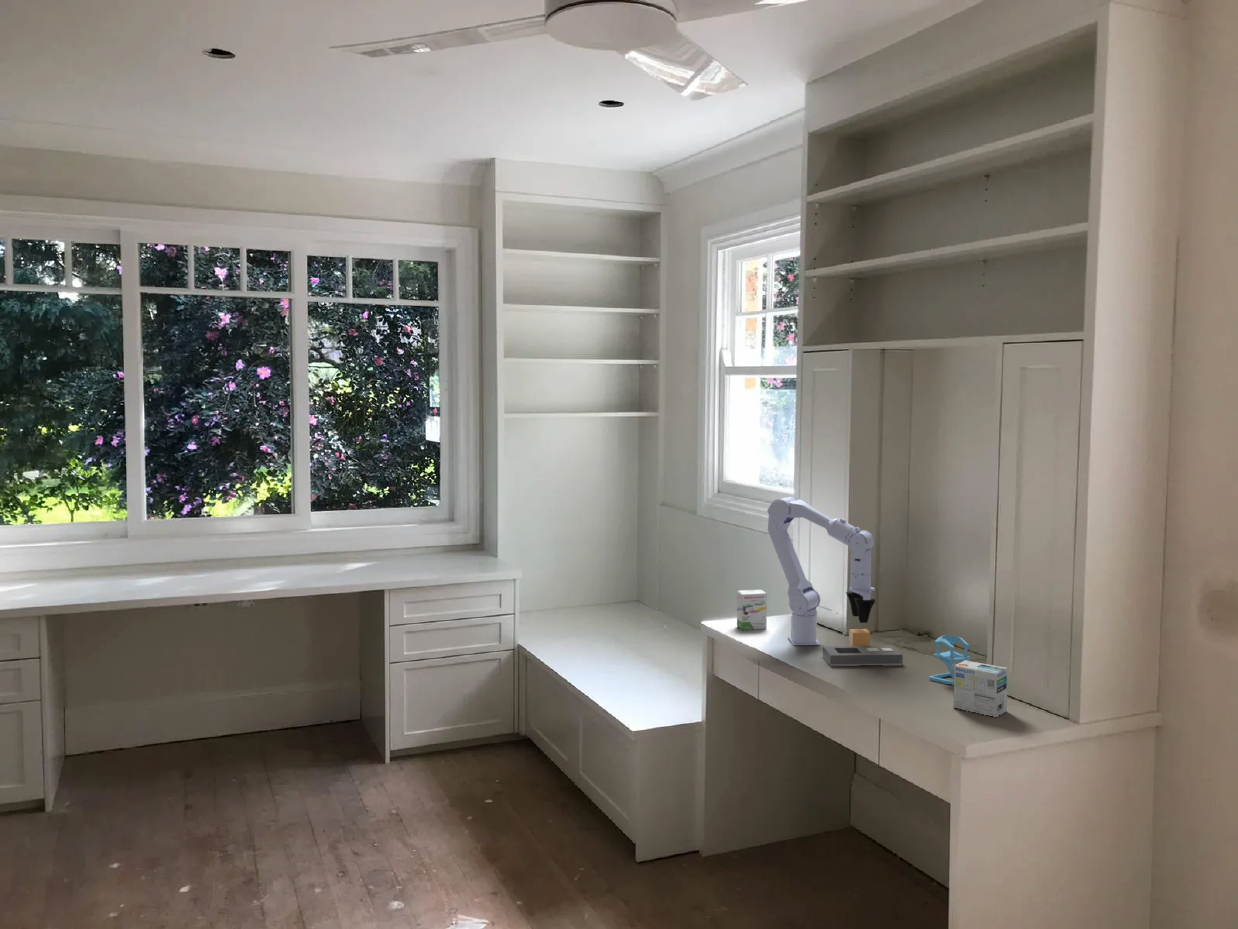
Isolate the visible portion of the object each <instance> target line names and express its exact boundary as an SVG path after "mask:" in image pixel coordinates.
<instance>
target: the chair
mask: <svg viewBox="0 0 1238 929" xmlns="http://www.w3.org/2000/svg"><path fill="white" fill-rule="evenodd" d="M934 641H935V646H936V653H935V652H934V653H933V654H932V656H933V658H935V659H938V660H939V661H941V662H943V663H944V664H945V666H946V667H947V669H948V671H949V672H946V673H940V674H934V675H929V676H928V680H929V681H932V682H937V683H940V684H944V685H948V684H952V685H951V686H953V685H954V666H953V664H956V663H958V662H959V663H961V662H963V661H965V660H967V661H971V656H968V653H967V652H968V649H969V646H970V644H969V643H967V642H966V640H964V638H962V637H959V636H955V635H950V634H944V635H941V636H939V637H938V638H937V639H935V640H934ZM956 642H959V643H961V644H962V645H963V646H964V649H963V652H962V653H963V654H961V653H959V652H956V651H955V646H954V643H956ZM940 645H944V646H945V647H946V648H948V649H949V650H947V651H945V652H941V648H940ZM947 676H949V677H950V676H951V677H950V678H952V679H953V680H950V679H945V678H947Z"/></svg>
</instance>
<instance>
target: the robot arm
mask: <svg viewBox="0 0 1238 929" xmlns="http://www.w3.org/2000/svg"><path fill="white" fill-rule="evenodd" d="M766 510H767V514H768V523H767V531H768V535H769V537H770V539H771V542H772V545H773V547H774V550H775V552H776V554H777V558H778V560H779V562H780V565H781V569H782V570H783V573H784V576H785V579H786V581H787V583H788V589H787V595H788V599H789V601H788V606H789V609H790V610H791V613H792V614H791V617H790V618H791V619H790V635H787V639H788V640H789V641H790V642H791V643H792V645H793V646H821V643H820V641H819V640H818V639H817V633H818V632H817V629H818V627H817V626H818V624H817V622H818V614H817V613H818V611H817V608H818V607H819V606H820V603H821V596H820V594H819V591H817V590H816V589H815V588H814V586H813V583H811V582H810V581H809V580H808V579H807V578H806V575H805V573H804V569H803V568H802V567H803V566H802V565H801V563H800V560H799V557H798V554H797V552H796V549H795V547H794V544H793V542H792V540H791V536H790V534H789V532H788V529H789V527H790V524H791V523H792V521H793V520H794V519H797V518H799V519H800V518H803V519H805V520H807V521H809V522H811V523H813V524H816V525H817V526H820V527H821V528H823V529H825V530H826V533H827V535H828V536H829V537H832V538H833V539H835V540H837V541H839V542H841V543H842V544H844V545H846V546H847V547H848V549H849V550H850V586H849V591H846V592H845V593H846V595H847V597H848V600H849V604H850V609H851V610H850V611H851V614H852V617H858V621H859V623H861V624H867V623H868V622H869V619H870V614H871V612H872V611H871V610H872V608H873V607H874V605H875V603H876V600H875V599H874V598H872V592H875V591H876V589H875V587H872V584H871V581H872V580H871V579H872V548H873V546H874V545H875V538H874V535H873V534H872V533H871V532H870V531H869V530H866V529H862V530H861V527H859V526H856V527H855V526H854V525H852V524H851V523H848V522H847V519H845V518H844V517H841V518H839V517H836V518H833V519H832V518H831V517H830V516H828V515H826V514H824V513H822V512H821V511H820V510H817V509H816V508H815V507H813V506H811V504H808V503H807V502H805V501H804V500H802V499H799V498H797V497H796V496H793V495H789V496H786V497H783V498H776V499H774V500H773V501H772V502H771V503H770V505H769V507H768V508H767V509H766Z"/></svg>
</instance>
